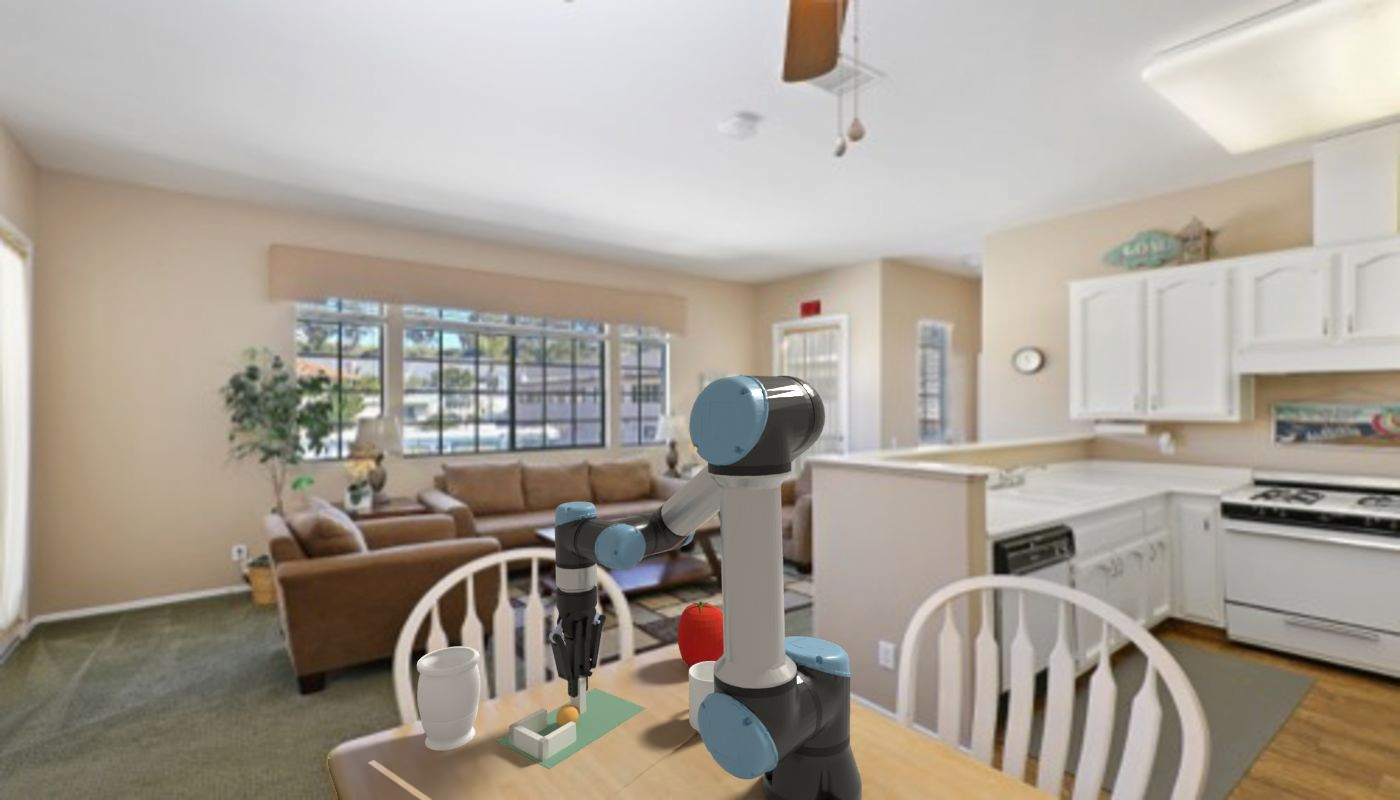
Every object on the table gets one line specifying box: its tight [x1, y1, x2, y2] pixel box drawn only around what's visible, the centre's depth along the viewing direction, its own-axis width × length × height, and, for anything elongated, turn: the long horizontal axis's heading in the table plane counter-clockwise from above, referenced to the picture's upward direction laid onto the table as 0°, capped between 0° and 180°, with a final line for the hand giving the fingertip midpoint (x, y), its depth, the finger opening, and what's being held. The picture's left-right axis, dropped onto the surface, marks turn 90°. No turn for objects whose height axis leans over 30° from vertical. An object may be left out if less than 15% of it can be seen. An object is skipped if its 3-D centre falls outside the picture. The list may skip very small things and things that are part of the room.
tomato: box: [676, 601, 724, 668], centre depth 145 cm, size 13×11×14 cm
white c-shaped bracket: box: [508, 707, 576, 761], centre depth 113 cm, size 9×7×3 cm
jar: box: [416, 645, 481, 751], centre depth 115 cm, size 11×10×15 cm
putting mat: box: [496, 687, 647, 770], centre depth 119 cm, size 14×24×1 cm, turn 144°
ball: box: [556, 704, 579, 727], centre depth 118 cm, size 4×4×4 cm
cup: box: [688, 661, 716, 735], centre depth 121 cm, size 8×12×10 cm
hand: (578, 710), depth 120 cm, fingers closed
